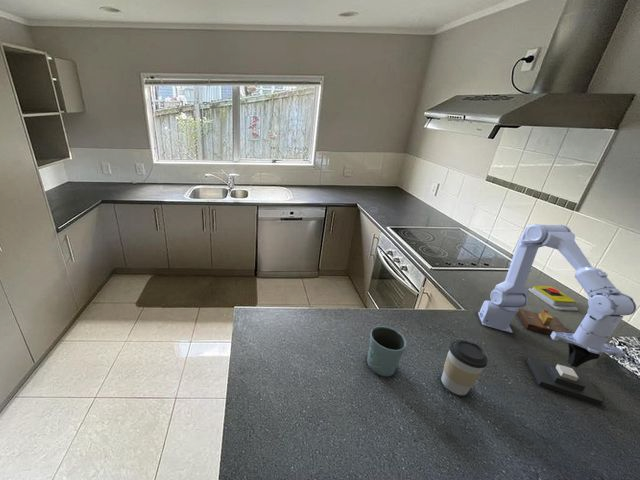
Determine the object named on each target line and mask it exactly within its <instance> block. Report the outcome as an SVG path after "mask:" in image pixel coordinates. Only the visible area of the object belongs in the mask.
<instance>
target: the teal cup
mask: <svg viewBox="0 0 640 480" xmlns="http://www.w3.org/2000/svg"><path fill="white" fill-rule="evenodd" d="M406 348H407V340H406V338H405V337H404V335H403V334H402V333H401V332H399V331H398V330H396V329H395V328H393V327H390V326H385V325H378V326H374V327H373V328H372V329H371V331H370V335H369V346H368V350H367V351H368V352H367V358H366V361H367V365H368V368H369V369H370V370H372V372H374V373H375V374H377V375H379V376H381V377H391V376H393V375H394V374H395V372H396V370H397V368H398V365H399V363H400V360H401V358H402V355H403V354H404V351H405V350H406Z"/></svg>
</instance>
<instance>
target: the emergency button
mask: <svg viewBox="0 0 640 480" xmlns="http://www.w3.org/2000/svg"><path fill="white" fill-rule="evenodd" d="M527 290H528V292H530V293H532V294H533V295H535V296H536V297H538V298H539V299H541V300H542V301H543V302H545V303H546V304H548V305H549V306H550V307H552V308H554V309H555V310H557V311H566V312H567V311H568V312H570V311H571V312H573V311H574V312H578V311H579V308H578V307H576V306H574V305H575V303H576V300H575V299H573V298H572V297H569V296H568V295H567V294H565V293H563V292H562V291H560V290H558V289H557V288H555V287H553V286H551V285H533V287H529V288H528V289H527Z"/></svg>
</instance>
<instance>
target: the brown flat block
mask: <svg viewBox="0 0 640 480" xmlns="http://www.w3.org/2000/svg"><path fill="white" fill-rule="evenodd" d="M517 315H518V317H519V318H520V320H521V322H522V325H523V326H524V327H525V329H526V330H530V331H532V332H537V333H540V334H544V335H548V336H550V335H551V334H552V332H553V331H555V332H561V333H569V331H568V330H567V328H566V327H565V326H564V325H563V323H562V322H561V321H560V319H559V318H558V317H554V316H552V318H553V319H552V321H551V323H550V324H549V325H545V324H543V322H542V321H541V319H540V318H539V315H540V313H539V312H534V311H530V310H527V309H523V308H520V309H519V310H517Z"/></svg>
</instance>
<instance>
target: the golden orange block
mask: <svg viewBox="0 0 640 480" xmlns="http://www.w3.org/2000/svg"><path fill="white" fill-rule="evenodd" d="M539 314H540V315H539V318H540V319H541V321H542V322H543V324H545V325H549V324H550V323H551V321H552V319H553V318H552V317H553V316H552V315H551V313H550V312H549V310H548V309H541V311H540V313H539Z"/></svg>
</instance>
